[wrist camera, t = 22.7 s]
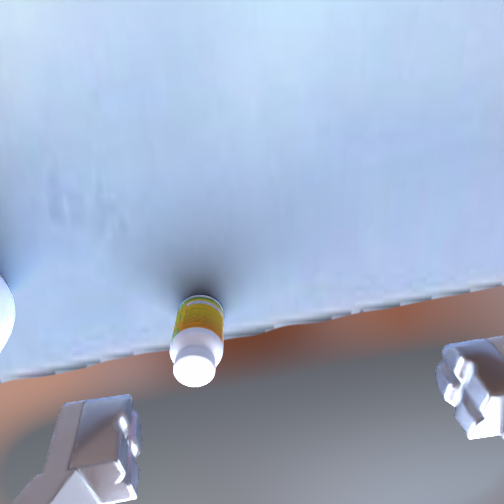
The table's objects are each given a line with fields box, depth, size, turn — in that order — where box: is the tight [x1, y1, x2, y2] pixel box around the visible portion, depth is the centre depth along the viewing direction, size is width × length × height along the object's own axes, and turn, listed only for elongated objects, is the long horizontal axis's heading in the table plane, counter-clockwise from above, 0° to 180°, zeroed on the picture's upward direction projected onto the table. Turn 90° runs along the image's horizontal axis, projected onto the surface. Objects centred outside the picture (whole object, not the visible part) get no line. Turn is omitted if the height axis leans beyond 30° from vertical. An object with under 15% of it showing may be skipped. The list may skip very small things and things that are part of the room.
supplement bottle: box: [170, 295, 224, 387], centre depth 42 cm, size 5×5×10 cm
